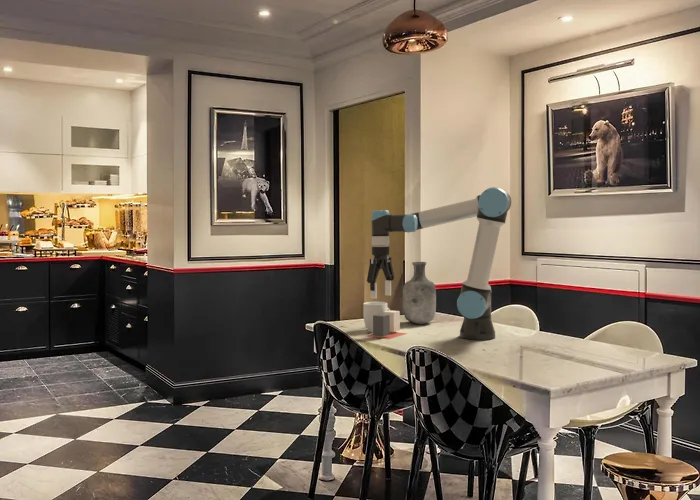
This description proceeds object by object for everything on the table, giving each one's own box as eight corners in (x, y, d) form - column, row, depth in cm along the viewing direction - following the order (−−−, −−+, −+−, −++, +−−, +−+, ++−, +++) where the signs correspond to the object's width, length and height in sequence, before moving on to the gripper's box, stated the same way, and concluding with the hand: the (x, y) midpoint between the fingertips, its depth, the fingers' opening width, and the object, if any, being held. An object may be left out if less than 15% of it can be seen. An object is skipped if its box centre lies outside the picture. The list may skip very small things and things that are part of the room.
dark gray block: (389, 334, 296) (389, 314, 295) (383, 336, 291) (383, 316, 291) (379, 333, 299) (379, 314, 298) (373, 335, 294) (373, 315, 294)
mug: (382, 327, 322) (382, 300, 321) (398, 330, 314) (398, 302, 313) (358, 331, 313) (358, 303, 312) (374, 334, 304) (374, 305, 303)
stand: (408, 334, 304) (408, 311, 303) (388, 340, 290) (388, 316, 290) (385, 331, 311) (385, 309, 310) (365, 337, 297) (365, 314, 297)
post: (385, 337, 295) (385, 316, 295) (382, 338, 293) (382, 317, 293) (380, 336, 297) (380, 316, 296) (377, 337, 295) (377, 316, 294)
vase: (398, 321, 338) (397, 261, 337) (428, 320, 343) (427, 260, 341) (410, 327, 323) (410, 263, 321) (441, 324, 328) (441, 262, 326)
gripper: (387, 244, 304) (387, 293, 306) (358, 247, 285) (358, 299, 286) (402, 244, 300) (402, 294, 301) (373, 247, 281) (373, 300, 282)
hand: (381, 296), depth 294 cm, fingers open, 11 cm apart
